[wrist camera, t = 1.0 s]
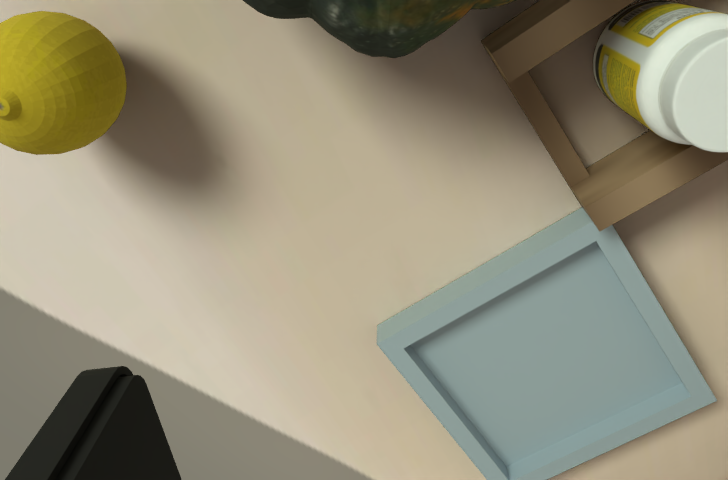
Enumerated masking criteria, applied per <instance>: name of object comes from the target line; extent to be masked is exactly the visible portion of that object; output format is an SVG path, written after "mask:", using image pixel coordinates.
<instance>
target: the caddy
mask: <svg viewBox="0 0 728 480" xmlns="http://www.w3.org/2000/svg"><path fill="white" fill-rule="evenodd" d="M634 1H636V0H540V1H538V2H537V3H535V4H534V5H533V6H531V7H530V8H528V9H527V10H525V11H524V12H522V13H521V14H519V15H518V16H516V17H515V18H514V19H512V20H511V21H509V22H508V23H506V24H505V25H503V26H502V27H500V28H499V29H497V30H496V31H494V32H493V33H492V34H490V35H489V36H487V37H486V38H484V39H483V40H481V42H482V44H483V45H484V47H485V49H486V50H487V52H488V54H489V55H490V57H491V59H492V60H493V62H494V64H495V65H496V67H497V68H498V70H499V72H500V73H501V75H502V77H503V78H504V80H505V82H506V83H507V85H508V87H509V88H510V90H511V91H512V93H513V95H514V96H515V98H516V100H517V101H518V103H519V105H520V106H521V108H522V110H523V111H524V113H525V114H526V116H527V118H528V119H529V121H530V123H531V124H532V126H533V128H534V129H535V131H536V133H537V134H538V136H539V137H540V139H541V141H542V142H543V144H544V146H545V147H546V149H547V151H548V152H549V154H550V155H551V157H552V159H553V160H554V162H555V164H556V165H557V167H558V169H559V170H560V172H561V174H562V175H563V177H564V178H565V180H566V182H567V183H568V185H569V187H570V188H571V190H572V192H573V193H574V195H575V197H576V198H577V200H578V201H579V203H580V204H581V206H582V207H583V209H584V210H585V212H586V213H587V214H588V216H589V217H590V219H591V220H592V221H593V223H594V224H595V226H596V227H597V229H598V230H599V231H602V230H604V229H605V228H607V227H609V226H611V225H612V224H614V223H616V222H618V221H620V220H621V219H623V218H625V217H627V216H628V215H630V214H632V213H634V212H636V211H637V210H639V209H641V208H643V207H644V206H646V205H648V204H650V203H652V202H653V201H655V200H657V199H659V198H660V197H662V196H664V195H666V194H668V193H669V192H671V191H673V190H675V189H676V188H678V187H680V186H682V185H684V184H685V183H687V182H689V181H691V180H692V179H694V178H696V177H698V176H700V175H701V174H703V173H705V172H707V171H708V170H710V169H712V168H714V167H716V166H717V165H719V164H721V163H723V162H724V161H726V160H728V152H711V151H706V150H703V149H700V148H698V147H696V146H694V145H687V144H680V143H675V142H672V141H669V140H667V139H664V138H662V137H660V136H659V135H657V134H655V133H654V132H653V131H651V130H650V131H648V132H647V133H645V134H643V135H641V136H640V137H638V138H636V139H635V140H633V141H631V142H630V143H628V144H626V145H625V146H623V147H621V148H620V149H618V150H616V151H614V152H613V153H611V154H609V155H608V156H606V157H604V158H603V159H601V160H599V161H598V162H596V163H594V164H593V165H591V166H589V167H588V168H586V169H585V167H584V165H583V164H582V162H581V160H580V158H579V157H578V155H577V153H576V152H575V150H574V148H573V147H572V145H571V143H570V142H569V140H568V138H567V137H566V135H565V133H564V131H563V130H562V128H561V126H560V125H559V123H558V121H557V120H556V118H555V116H554V115H553V113H552V111H551V110H550V108H549V106H548V104H547V103H546V101H545V99H544V98H543V96H542V94H541V93H540V91H539V89H538V88H537V86H536V84H535V82H534V81H533V79H532V77H531V76H530V74H529V72H528V70H530V69H532V68H533V67H535V66H536V65H538V64H539V63H541V62H542V61H544V60H545V59H547V58H548V57H550V56H551V55H553V54H554V53H556V52H558V51H559V50H561V49H562V48H564V47H565V46H567V45H568V44H570V43H571V42H573V41H574V40H576V39H577V38H579V37H580V36H582V35H584V34H585V33H587V32H588V31H590V30H591V29H593V28H594V27H596V26H597V25H599V24H600V23H602V22H603V21H605V20H607V19H608V18H610V17H611V16H613V15H614V14H616V13H617V12H619V11H620V10H622V9H623V8H625V7H626V6H628V5H629V4H631V3H633V2H634Z"/></svg>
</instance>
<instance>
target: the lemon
mask: <svg viewBox="0 0 728 480" xmlns="http://www.w3.org/2000/svg"><path fill="white" fill-rule="evenodd" d="M126 88H127V84H126V76H125V69H124V66H123V64H122V61H121V58H120V55H119V54H118V52H117V51H116V49H115V48H114V46H113V44H112V43H111V42H110V41H109V40H108V39H107V38H106V37H105V36H104V35H103V34H102V33H101V32H100V31H99V30H98V29H96V28H95V27H93V26H92V25H90V24H89V23H87V22H85V21H84V20H81V19H78V18H76V17H73V16H70V15H67V14H64V13H56V12H46V11H38V12H32V13H27V14H21V15H17V16H14V17H12V18H10V19H8V20H6V21H4V22H2V23H0V143H2V144H4V145H6V146H8V147H10V148H13V149H15V150H17V151H22V152H26V153H31V154H36V155H38V154H61V153H65V152H68V151H72V150H75V149H79V148H82V147H84V146H86V145H88V144H90V143H91V142H93V141H94V140H96V139H98V138H99V137H101V136H102V135H103V134H105V132H106V131H107V130H108V129H109V128H110V127H111V125H112V124H113V123H114V122H115V121H116V119H117V118H118V116H119V114H120V111H121V109H122V107H123V104H124V102H125V96H126Z"/></svg>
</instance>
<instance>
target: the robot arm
mask: <svg viewBox="0 0 728 480" xmlns="http://www.w3.org/2000/svg"><path fill="white" fill-rule="evenodd" d="M5 480H181V477H180V474H179V472H178V469H177V466H176V463H175V461H174V458H173V455H172V452H171V450H170V447H169V445H168V442H167V439H166V436H165V433H164V431H163V428H162V425H161V423H160V420H159V417H158V414H157V412H156V409H155V406H154V404H153V401H152V398H151V395H150V393H149V390H148V388H147V385H146V383H145V380H144V379H143V378H142V377H141V376H139V375H134V376H133V374H132V372H131V371H130V370H129V369H128V368H127V367H124V366H120V367H110V368H101V369H92V370H86V371H83V372H81V373H80V374H79V375H78V376H77V378H76V379H75V380H74V382H73V383H72V385H71V386H70V388H69V389H68V390H67V392H66V393H65V395H64V396H63V397H62V399H61V400H60V402H59V403H58V405H57V406H56V407H55V409H54V410H53V412H52V413H51V415H50V416H49V418H48V419H47V420H46V422H45V423H44V425H43V426H42V428H41V429H40V431H39V432H38V433H37V435H36V436H35V438H34V439H33V440H32V442H31V443H30V445H29V446H28V447H27V449H26V450H25V452H24V453H23V455H22V456H21V457H20V459H19V460H18V462H17V463H16V465H15V466H14V468H13V469H12V470H11V472H10V473H9V475H8V476H7V478H6V479H5Z"/></svg>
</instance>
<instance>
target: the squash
mask: <svg viewBox="0 0 728 480" xmlns="http://www.w3.org/2000/svg"><path fill="white" fill-rule="evenodd" d="M243 1H244V2H245V3H247V4H248V5H250V6H251V7H252V8H254V9H255V10H257V11H258V12H260V13H262V14H264V15H266V16H269V17H274V18H280V19H295V18H305V17H309V18H312V19H314V20H315V21H316V22H317V23H318V24H319V25H320V26H321V27H323V28H324V29H325V30H326V31H327V32H328V33H329V34H331V35H332V36H334V37H336V38H337V39H339V40H340V41H342V42H344V43H346V44H347V45H348V46H350V47H351V48H353V49H354V50H355V51H357V52H360V53H363V54H366V55H369V56H372V57H378V56H385V57H391V58H396V57H401V56H405V55H407V54H409V53H411V52H414V51H415V50H417V49H418V48H420V47H421V46H422V45H423V44H425V43H426V42H428V41H430V40H432V39H434V38H436V37H437V36H439V35H440V34H442V33H443V32H444V31H446V30H447V29H448V28H450V27H451V26H452V25H453V24H455V23H456V22H457V21H458V20H460V19H461V18H462V17H463V16H464V15H465V14H466V13H467V12H468V11H469V10H470V9H487V8H491V7H496V6H501V5H505V4H508V3H510V2H513V1H516V0H243Z"/></svg>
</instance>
